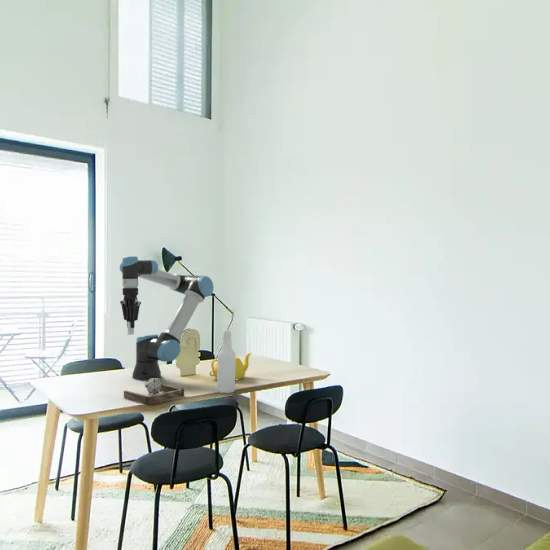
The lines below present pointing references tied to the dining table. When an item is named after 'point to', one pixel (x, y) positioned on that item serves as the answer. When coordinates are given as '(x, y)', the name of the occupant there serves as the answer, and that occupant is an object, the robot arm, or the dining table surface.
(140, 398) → the brown wooden bar
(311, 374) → the dining table surface
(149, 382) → the game die
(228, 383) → the alcohol
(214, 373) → the teapot
